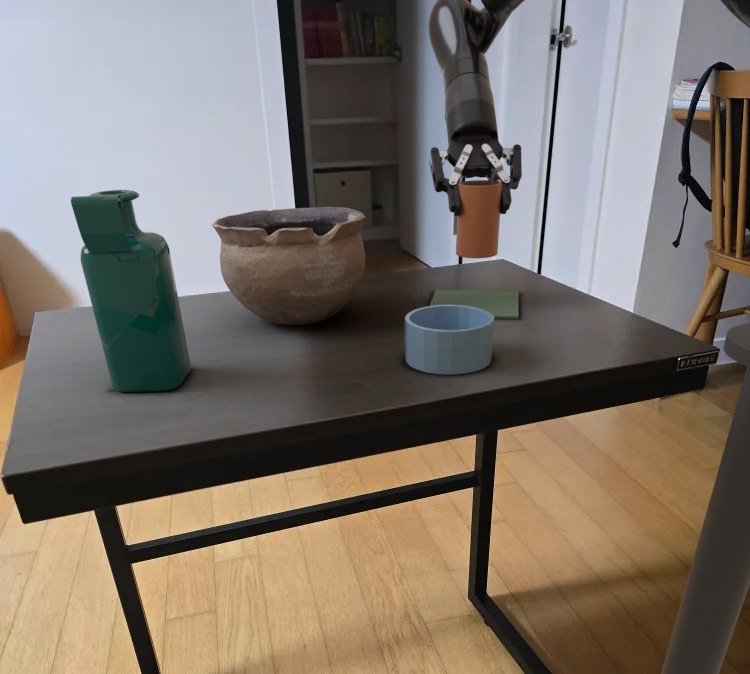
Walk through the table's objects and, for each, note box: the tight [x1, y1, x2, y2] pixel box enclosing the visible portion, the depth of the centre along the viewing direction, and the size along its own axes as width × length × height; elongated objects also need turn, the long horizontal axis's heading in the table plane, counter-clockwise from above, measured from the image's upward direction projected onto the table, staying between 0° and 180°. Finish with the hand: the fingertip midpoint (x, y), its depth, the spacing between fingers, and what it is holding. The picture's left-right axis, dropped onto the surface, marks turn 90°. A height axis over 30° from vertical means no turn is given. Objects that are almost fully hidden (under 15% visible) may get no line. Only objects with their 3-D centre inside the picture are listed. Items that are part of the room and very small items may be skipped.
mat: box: [429, 289, 520, 320], centre depth 108 cm, size 14×14×1 cm
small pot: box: [455, 179, 502, 259], centre depth 101 cm, size 6×6×10 cm
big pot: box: [404, 305, 495, 376], centre depth 86 cm, size 11×11×6 cm
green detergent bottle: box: [70, 189, 192, 393], centre depth 78 cm, size 10×8×22 cm
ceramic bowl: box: [211, 206, 366, 326], centre depth 101 cm, size 22×22×15 cm
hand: (481, 211), depth 99 cm, fingers closed on small pot, 6 cm apart
